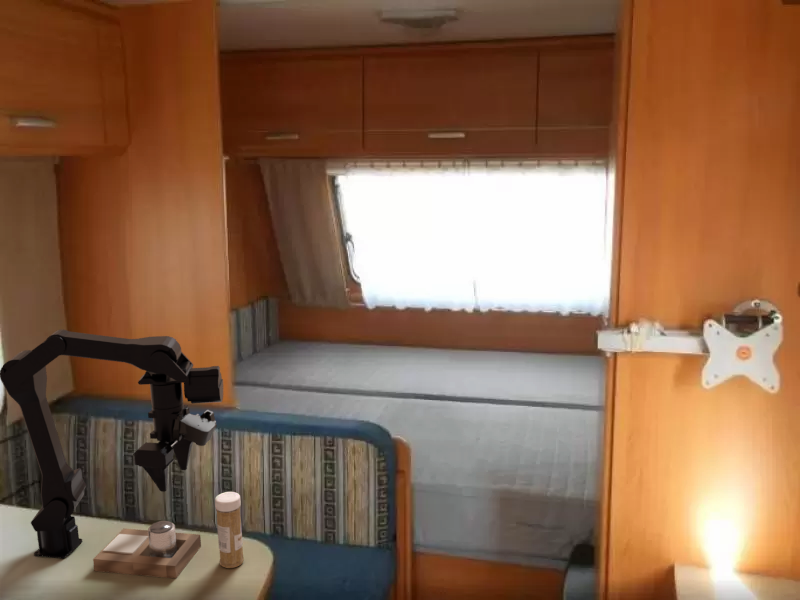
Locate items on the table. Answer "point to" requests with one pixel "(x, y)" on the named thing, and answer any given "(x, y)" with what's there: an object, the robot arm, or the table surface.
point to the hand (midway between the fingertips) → (174, 480)
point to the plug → (162, 539)
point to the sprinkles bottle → (229, 529)
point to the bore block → (145, 555)
